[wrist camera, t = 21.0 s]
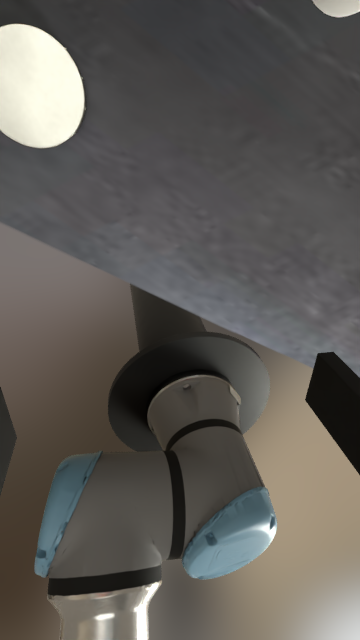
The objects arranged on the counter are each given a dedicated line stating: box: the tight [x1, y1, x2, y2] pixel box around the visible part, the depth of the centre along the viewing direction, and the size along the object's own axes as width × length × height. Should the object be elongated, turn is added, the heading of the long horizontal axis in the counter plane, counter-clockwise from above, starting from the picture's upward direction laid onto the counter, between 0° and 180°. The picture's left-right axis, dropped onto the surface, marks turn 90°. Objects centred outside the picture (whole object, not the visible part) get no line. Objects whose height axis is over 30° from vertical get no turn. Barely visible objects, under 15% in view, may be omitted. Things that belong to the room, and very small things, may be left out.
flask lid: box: [0, 24, 87, 148], centre depth 29 cm, size 8×8×3 cm
